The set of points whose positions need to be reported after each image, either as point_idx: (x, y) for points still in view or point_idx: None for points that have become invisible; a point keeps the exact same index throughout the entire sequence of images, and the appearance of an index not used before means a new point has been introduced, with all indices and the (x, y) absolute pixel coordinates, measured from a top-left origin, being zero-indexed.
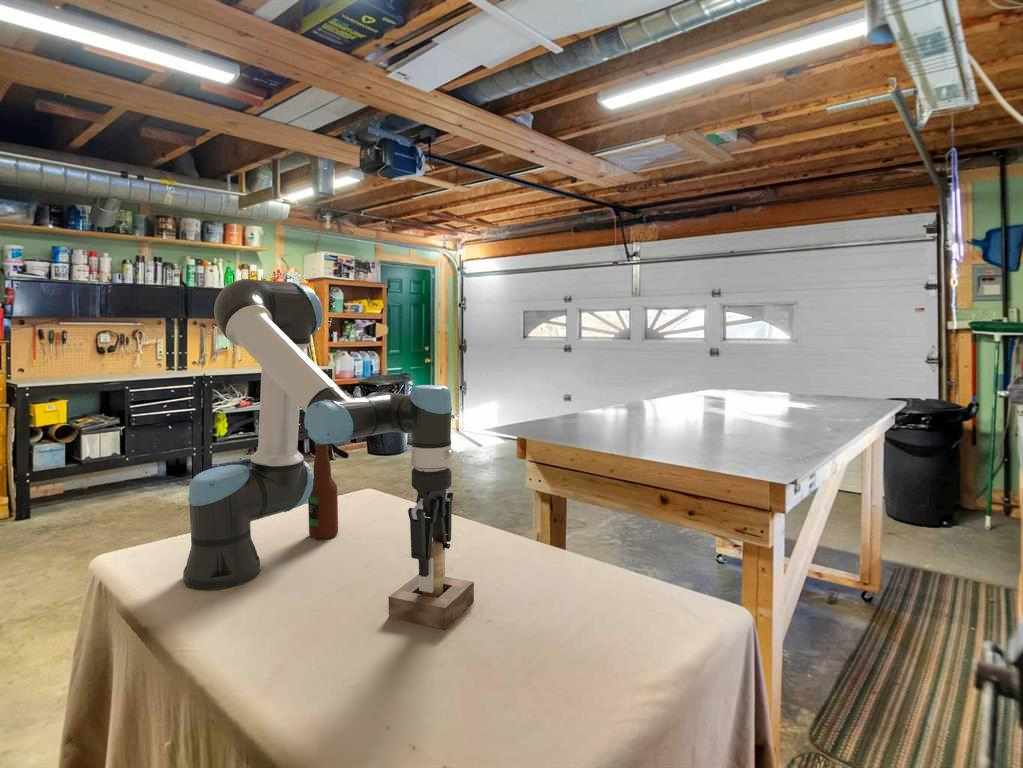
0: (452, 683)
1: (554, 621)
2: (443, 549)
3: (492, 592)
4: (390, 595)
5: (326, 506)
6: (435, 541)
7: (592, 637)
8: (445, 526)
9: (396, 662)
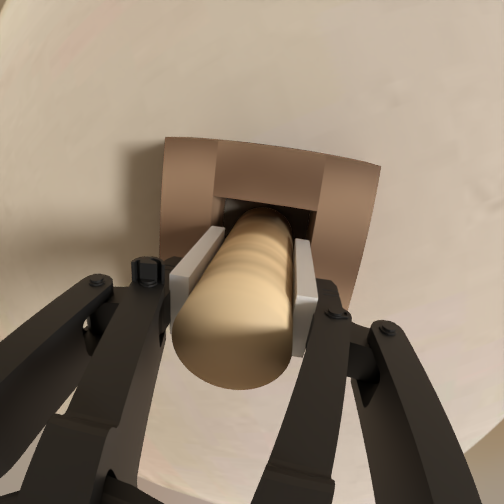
0: None
1: (273, 441)
2: (302, 351)
3: None
4: (173, 139)
5: None
6: (290, 347)
7: (241, 468)
8: (370, 423)
9: (58, 243)
